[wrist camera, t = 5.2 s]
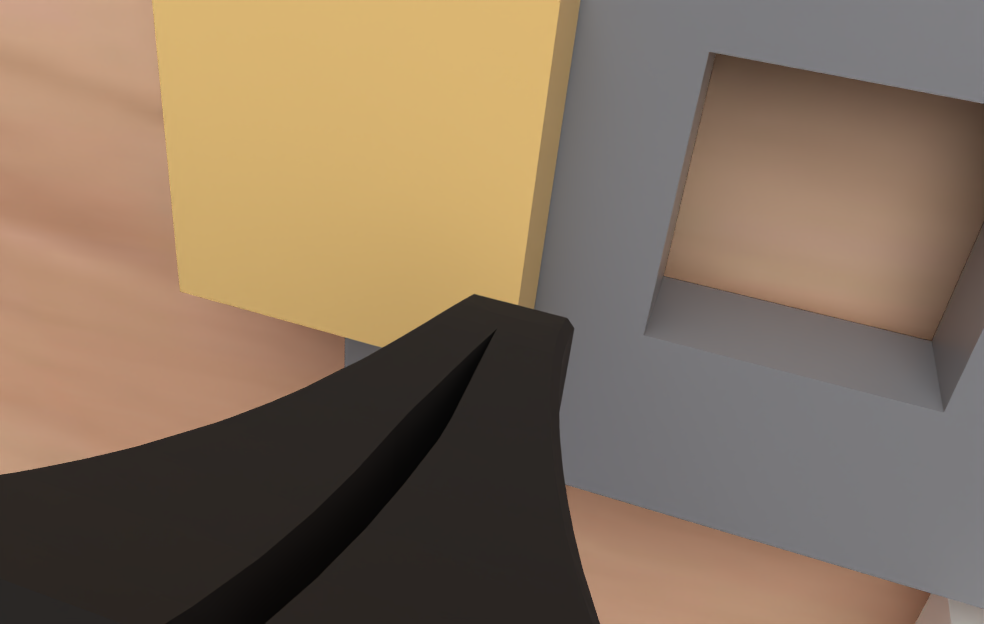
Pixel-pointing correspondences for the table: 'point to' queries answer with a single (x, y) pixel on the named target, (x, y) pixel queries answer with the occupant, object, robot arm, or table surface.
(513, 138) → the yellow flat square block
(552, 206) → the socket plate
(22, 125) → the table surface
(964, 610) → the plug
